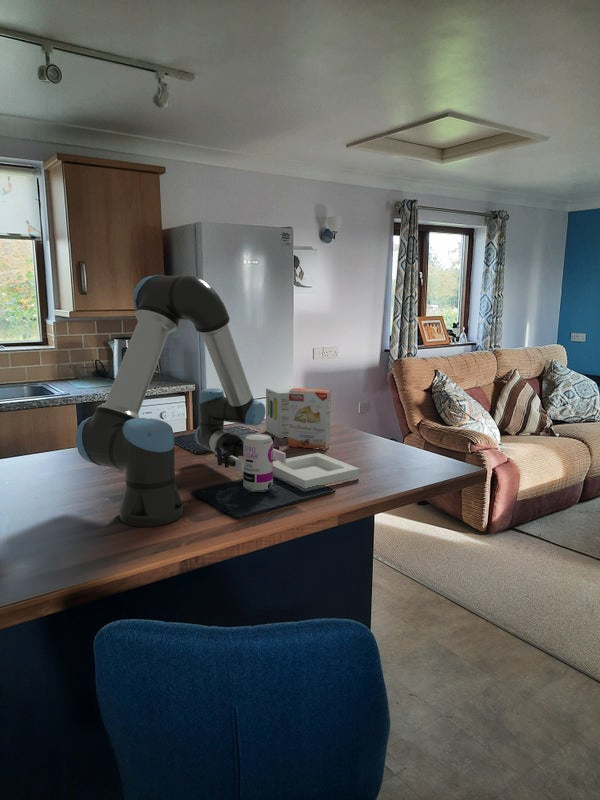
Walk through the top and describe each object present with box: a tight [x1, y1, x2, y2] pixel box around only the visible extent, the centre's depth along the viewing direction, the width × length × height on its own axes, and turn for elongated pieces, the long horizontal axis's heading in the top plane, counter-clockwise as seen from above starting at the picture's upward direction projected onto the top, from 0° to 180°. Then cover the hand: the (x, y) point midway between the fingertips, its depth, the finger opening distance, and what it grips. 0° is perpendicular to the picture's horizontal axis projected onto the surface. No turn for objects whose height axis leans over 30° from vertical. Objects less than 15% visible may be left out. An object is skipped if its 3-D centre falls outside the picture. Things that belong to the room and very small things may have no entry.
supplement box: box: [265, 385, 300, 439], centre depth 221 cm, size 13×13×18 cm
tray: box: [273, 452, 360, 488], centre depth 171 cm, size 20×20×4 cm
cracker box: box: [287, 387, 332, 450], centre depth 202 cm, size 14×6×21 cm, turn 73°
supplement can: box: [242, 433, 274, 490], centre depth 159 cm, size 8×8×15 cm
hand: (264, 462), depth 156 cm, fingers open, 13 cm apart
